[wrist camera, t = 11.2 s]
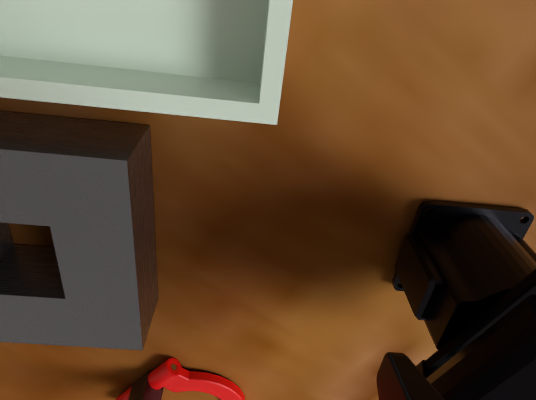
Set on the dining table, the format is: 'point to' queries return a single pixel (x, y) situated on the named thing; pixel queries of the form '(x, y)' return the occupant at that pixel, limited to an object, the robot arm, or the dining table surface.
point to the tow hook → (180, 383)
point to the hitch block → (77, 232)
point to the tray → (148, 55)
